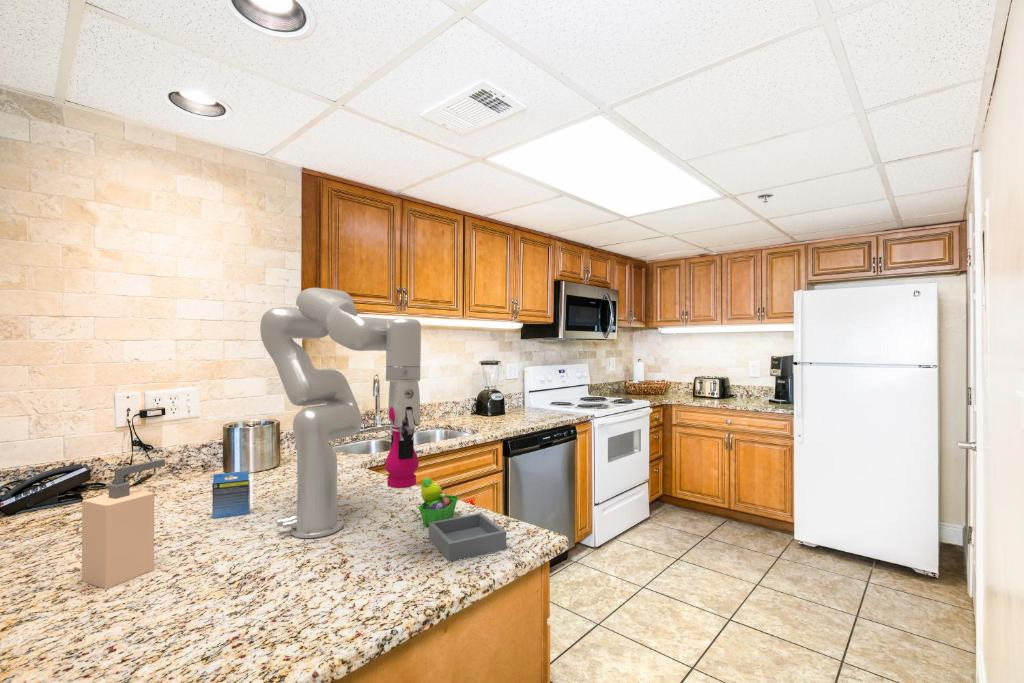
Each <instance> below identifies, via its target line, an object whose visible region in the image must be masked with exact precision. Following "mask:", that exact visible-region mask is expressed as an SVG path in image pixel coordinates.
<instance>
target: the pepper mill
mask: <svg viewBox="0 0 1024 683" xmlns="http://www.w3.org/2000/svg"><path fill="white" fill-rule="evenodd" d="M389 417H390V419H391V420H392V422H393V423H392V422H391V424H390V425H391V428H390V430H392V431H393V444H392V447H391V446H390V450H389V452H388V453H387V456H386V458H385V470H386V472H387V473H388V474H389V475H388V476H387V479H386V480H387V482H386V484H387V487H388V488H391V489H408V488H411V487H413V486H415V485H416V484H417V475H416V474H415V472H416V471H417V470H418V468H419V458H418V455H417V453H416V450H415V449H414V450H413V458H411V459H401V460H400V459H399V458H398V441H400V431H399V427H398V426H396V425H395V424H394V421H395V413H394V409H393V407H392V406H391V408H390V410H389V415H388V418H389ZM413 420H414V418H413ZM402 426H407V423H404V424H403V425H402ZM405 430H407V429H403V434H404V431H405Z"/></svg>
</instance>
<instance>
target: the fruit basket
mask: <svg viewBox="0 0 1024 683" xmlns="http://www.w3.org/2000/svg"><path fill="white" fill-rule="evenodd" d="M420 489H421V491H420V492H421V498H422V500H423V502H422V504H420V505H419V506H418V510H419V512H420V515H421V520H422V522H423V523H422V524H423V525H426V526H425V527H429V523H430V522H435V521H440V520H445V519H451V518H453V516H454V513H455V510H456V509H455V508H456V505H457V501H458V499H459V496H458V495H453V494H452V495H449V494H448V495H447V494H441V493H442V492H443V490H442V487H441V486H440V485H439V483H436V482H435V480H433V479H431V478H430V477H427V478H423V479H422V481H421V485H420ZM427 525H428V526H427Z"/></svg>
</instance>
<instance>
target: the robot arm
mask: <svg viewBox="0 0 1024 683" xmlns="http://www.w3.org/2000/svg"><path fill="white" fill-rule="evenodd" d="M295 304H296V305H295V306H296V307H293V306H292V307H291V306H278V307H273V308H270V309H268V310H267V311H265V312H264V314H263V315H262V316H261V320H260V324H259V331H260V337H261V338H260V339H261V341H262V344H263V346H264V348H265V350H266V351H267V353H268V355H269V357H270V358H271V359H272V361H273V362H274V364H275V367H276V369H277V372H278V375H279V378H280V380H281V383H282V386H283V388H284V390H285V395H287V398H288V400H289V402H290V403H291V404H292V405H293V406H297V407H305V408H303V409H301V410H299V411H298V412H297V413H296V414H295V415H294V418H293V421H292V430H293V436H294V440H295V446H296V465H297V466H296V470H297V473H296V474H297V478H296V479H297V480H296V483H297V486H296V487H297V488H296V489H297V490H296V491H297V497H296V498H297V500H296V504H297V506H296V508H297V509H296V511H295V512H294V514H292V515H290V516H289V517H288V516H287V517H279V518H277V520H276V525H277V526H276V527H277V528H278V527H282V528H283V529H285V528H289V527H290V531H289V532H290V534H291V535H292V536H293V537H295V538H300V539H316V538H322V537H325V536H331V535H333V534H335V533H337V532H339V531H340V530H342V528H343V527H344V523H345V522H344V520H343V518H341V517H339V516H338V457H337V454H336V452H335V450H334V448H332V446H331V444H330V442H332V441H335V440H336V441H337V440H340V439H346V438H350V437H353V436H355V435H356V434H358V433H359V432H360V430H361V429H362V428H361V427H362V421H363V419H362V413H361V410H360V407H359V405H358V403H357V400H356V398H355V396H354V394H353V392H352V389H351V387H350V384H349V382H348V380H347V378H346V377H345V376H344V375H343V374H342V373H341V372H340V371H339V370H337V369H331V368H329V369H327V368H324V369H323V368H322V369H318V368H316V367H315V366H314V365H313V362H312V360H311V358H310V356H309V353H308V352H307V351H306V350H305V349H304V348H303V346H301V345H300V344H299V343H297V342H296V341H295V340H294V339H299V340H300V339H301V340H302V339H306V340H312V339H313V340H315V339H316V340H317V339H323V338H325V337H326V336H329V338H330V339H331V340H332V341H333V342H335V343H337V344H338V345H340V346H343V347H345V348H347V349H348V350H353V351H359V352H364V351H365V352H366V351H368V352H371V351H372V352H373V351H376V352H377V351H379V352H380V351H381V352H384V351H385V381H386V382H389V388H388V409H387V410H388V411H387V412H388V420H389V422H390V423H391V424H392V423H393V422H392V420H391V419H390V417H389V410H390V408H391V406H392V407H393V409H394V413H395V421H394V424H395V425H396V426H398V427H399V431H400V441H398V458H399V459H400V460H401V459H411V458H413V450H415V446H414V442H415V435H414V434H415V429H416V427H419V426H420V424H421V399H420V398H421V397H420V396H421V395H420V387H419V382H420V381H421V361H422V360H421V356H422V355H421V354H422V349H421V348H422V324H421V323H420V321H419V320H417V319H415V318H380V317H368V316H367V317H364V316H358V310H357V307H356V305H355V303H354V300H353V297H352V296H351V295H350V294H349V293H348V292H346V291H345V290H344V291H343V290H339V289H331V288H322V287H309V288H306V289H304V290H302V291H300V292H299V293H298V295H297V297H296V301H295ZM413 418H414V420H413ZM404 423H407V426H402V425H403V424H404ZM403 429H407V430H405V431H404V434H403ZM390 430H391V429H390ZM390 433H391V435H390V440H391V442H390V448H391V447H392V444H393V431H392V430H391V432H390Z"/></svg>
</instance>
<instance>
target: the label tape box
mask: <svg viewBox="0 0 1024 683" xmlns="http://www.w3.org/2000/svg"><path fill="white" fill-rule="evenodd" d="M249 474H250V473H249V470H246V471H244V470H243V471H233V472H223V473H213V474H212V485H211V486H212V497H211V498H212V503H211V504H212V510H211V511H212V512H211V513H212V517H211V518H212V519H213V520H214V519H215V520H216V519H224V518H228V517H235V516H243V515H249V514H250V508H251V505H250V504H251V502H250V501H251V500H250V499H251V493H250V492H251V486H250V479H249V477H250V475H249ZM231 476H232V477H236V478H231V479H229V478H230V477H231ZM226 478H227V479H226Z"/></svg>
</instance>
